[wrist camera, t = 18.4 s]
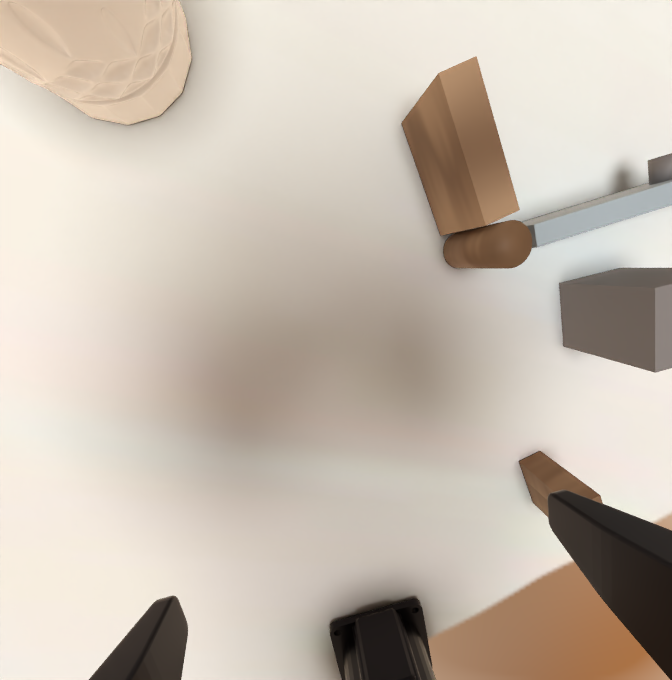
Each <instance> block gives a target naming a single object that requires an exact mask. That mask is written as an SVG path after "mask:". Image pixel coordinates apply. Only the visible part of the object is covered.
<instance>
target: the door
mask: <svg viewBox="0 0 672 680" xmlns="http://www.w3.org/2000/svg"><path fill="white" fill-rule="evenodd" d="M648 173H649V183H647V184H644V185H640V186H637V187H634V188H631V189H627V190H624V191H621V192H618V193H614V194H611V195H608V196H605V197H601V198H598V199H595V200H592V201H588V202H585V203H582V204H579V205H575V206H572V207H569V208H566V209H562V210H559V211H556V212H553V213H549V214H546V215H543V216H540V217H536V218H533V219H530V220H527V221H523V222H522V223H524V224H525V225H526V226H527V227H528V229H529V230H530V232H531V235H532V248H534V247H540V246H543V245H546V244H549V243H552V242H556V241H559V240H562V239H565V238H568V237H571V236H575V235H578V234H581V233H584V232H587V231H591V230H594V229H597V228H600V227H603V226H607V225H610V224H613V223H616V222H619V221H622V220H626V219H629V218H632V217H635V216H638V215H642V214H645V213H648V212H651V211H654V210H658V209H661V208H664V207H667V206H670V205H672V153H671V154H668V155H665V156H661V157H658V158H655V159H651V160H648Z"/></svg>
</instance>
